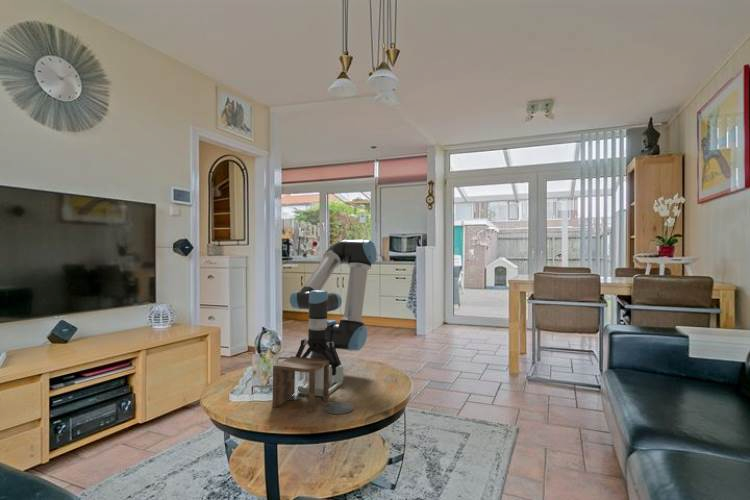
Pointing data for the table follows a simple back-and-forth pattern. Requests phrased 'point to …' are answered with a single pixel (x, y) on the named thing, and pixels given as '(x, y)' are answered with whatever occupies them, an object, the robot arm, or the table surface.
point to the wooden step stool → (286, 379)
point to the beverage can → (318, 378)
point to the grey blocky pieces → (337, 379)
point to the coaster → (338, 407)
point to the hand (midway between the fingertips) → (316, 381)
